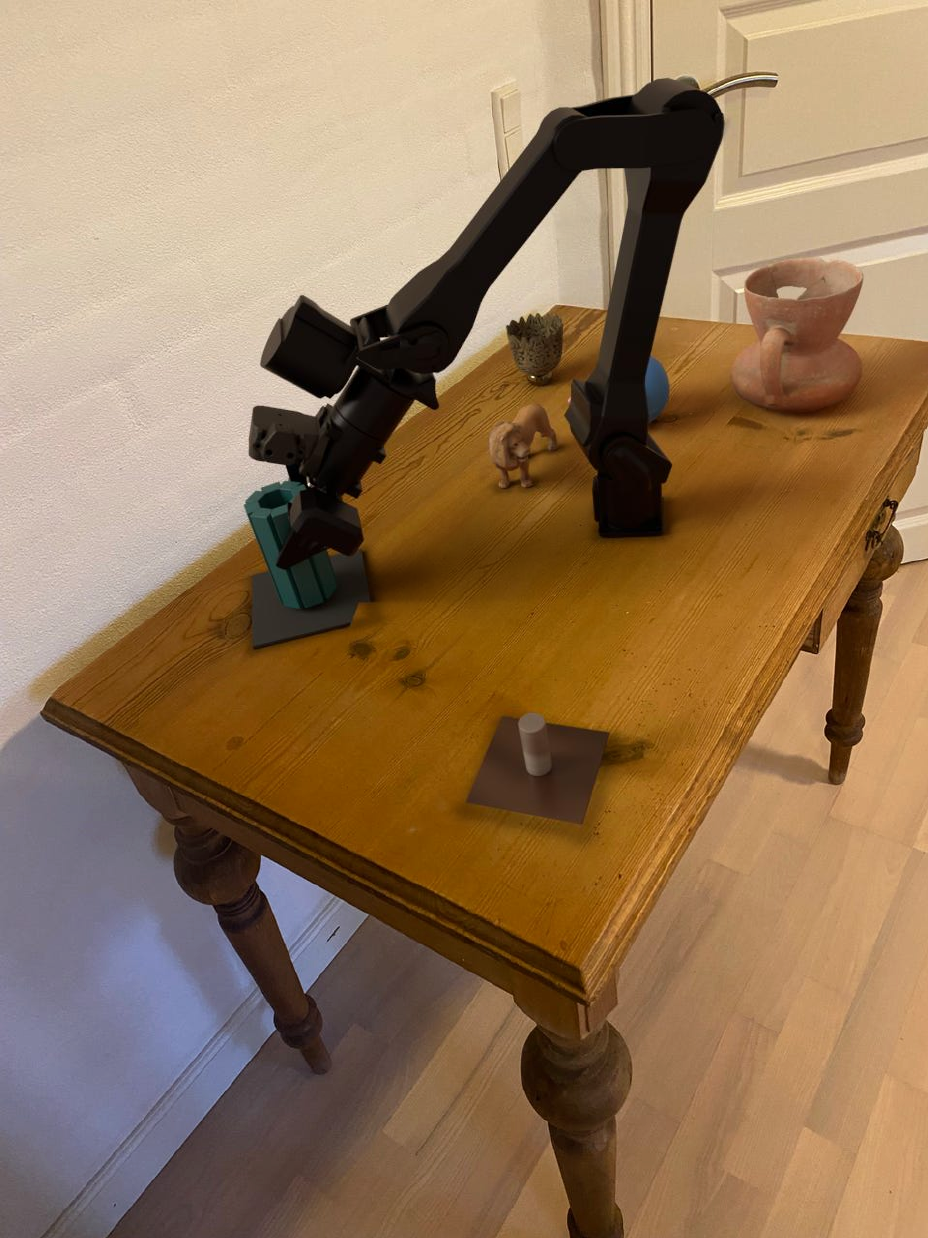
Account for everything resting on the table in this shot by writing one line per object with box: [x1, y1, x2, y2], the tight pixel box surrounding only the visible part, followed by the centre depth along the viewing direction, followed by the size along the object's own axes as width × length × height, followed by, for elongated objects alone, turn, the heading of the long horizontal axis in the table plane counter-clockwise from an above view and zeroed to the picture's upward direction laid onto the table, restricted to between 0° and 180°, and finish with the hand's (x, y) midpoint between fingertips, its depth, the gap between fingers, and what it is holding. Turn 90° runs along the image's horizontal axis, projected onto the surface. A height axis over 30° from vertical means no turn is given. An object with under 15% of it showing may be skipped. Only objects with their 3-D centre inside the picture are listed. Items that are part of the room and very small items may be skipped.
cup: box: [505, 312, 564, 387], centre depth 117 cm, size 8×7×8 cm
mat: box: [251, 548, 372, 650], centre depth 91 cm, size 12×12×1 cm
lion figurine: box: [487, 402, 559, 489], centre depth 100 cm, size 15×5×9 cm, turn 163°
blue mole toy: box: [567, 355, 670, 424], centre depth 105 cm, size 12×12×8 cm
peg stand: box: [465, 712, 610, 826], centre depth 67 cm, size 9×9×6 cm
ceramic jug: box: [729, 257, 864, 413], centre depth 101 cm, size 18×14×14 cm
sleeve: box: [243, 480, 338, 609], centre depth 87 cm, size 6×6×11 cm
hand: (279, 548), depth 87 cm, fingers closed on sleeve, 6 cm apart
